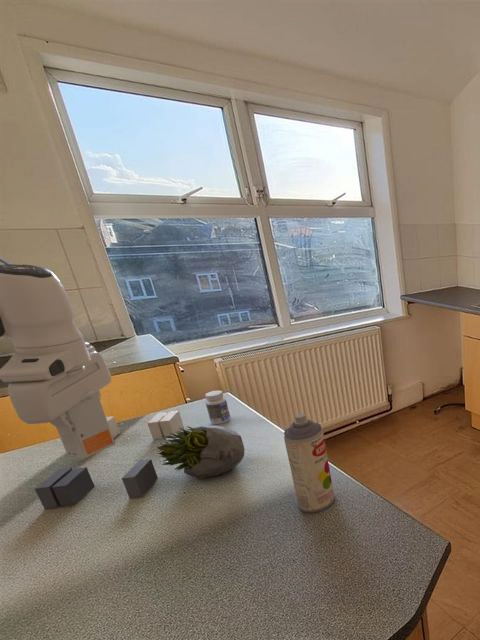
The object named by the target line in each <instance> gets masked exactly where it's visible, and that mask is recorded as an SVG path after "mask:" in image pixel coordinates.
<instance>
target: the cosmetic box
mask: <svg viewBox="0 0 480 640" xmlns="http://www.w3.org/2000/svg"><path fill="white" fill-rule="evenodd" d="M65 413H66V416H67V417H66V418H65V419H66V420H67V421H68V422H69V423H71V422H73V423H74V427H75V428H76V430H75V431H73V432H72V433H71V434H67V435H61V434H60V433H59V431H58V429H57V427H55V428H56V431H57V433H58V435H59V438H60V440H61V443H62V445H63V447H64V451H65V454H66V455H67V457H70V458H79V459H87V458H89V457H91V456H94V455H95V454H97V453H99V452H102V451H103V450H106V449H108V448H110V447H112V446H114V445H115V444H116V442H115V440H114V439H115V438H114V439H113V436H112V434H111V431H110V428H109V425H108V422H107V419H106V417H107V416H106V413H105V411H104V408H103V405H102V403H101V398H100V399H99V396H98V393H97V392H95V391H90V392H88V393H87V394H85V395H84V396H82V397H81V400H80V403H79V404H77V405H76V406H74V407H73V408H71V409H69V410H68V411H66V412H65Z"/></svg>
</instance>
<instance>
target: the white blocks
mask: <svg viewBox="0 0 480 640" xmlns="http://www.w3.org/2000/svg"><path fill="white" fill-rule="evenodd" d="M106 419H107V422H108V425H109V428H110V431H111V434H112V436H113V439H115V438H117V436H119V435H120V434H121V432H120V429H119V426H118V424H117V421H116V418H115V416H111V415H110V416H106ZM146 423H147V424H146V425H147V427H148V430H149V432H150V436H151V438H152V440H153V441H154V440H155V441H156V440H163V439H168V438H167V437H166V436H168V435H170V436H171V435H173V434H177V433H176V432H178V431H182V430H181V429H180V428H182V429H184V428H185V425H184V423H183V419H182V415H181V413H180V410H171V411H163V412H162V411H161V412H157V413H156V414H155V415H154V416H153V417H152V418H151V419H149V421H147V422H146ZM179 427H180V428H179ZM171 433H173V434H171ZM177 435H178V434H177Z"/></svg>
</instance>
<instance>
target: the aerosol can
mask: <svg viewBox="0 0 480 640" xmlns="http://www.w3.org/2000/svg"><path fill="white" fill-rule="evenodd" d="M294 419H295V420H294V421H293V422H292V423H291V424H290V425H289V427H286V429H285V430H284V432H283V435H284V436H283V440H284V445H285V449H286V454H287V459H288V462H289V468H290V472H291V478H292V482H293V486H294V487H293V488H294V492H295V496H296V500H297V505H298V509H299V510H300V511H301V512H302V513H305V514H316V513H321V512H322V511H325V510H327V509H329V508H330V507H332V505H333V504H334V502H335V499H336V498H335V493H334V488H333V487H334V486H333V482H332V481H333V480H332V474H331V469H330V464H329V457H328V453H327V452H328V451H327V446H326V440H325V435H324V430H323V429H322V425H321V424H320V423H318V422H315V421H313V420H311V419H309V418H307V417H306V414H305V413H298V414H296V415H295V416H294Z"/></svg>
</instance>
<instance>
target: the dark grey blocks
mask: <svg viewBox="0 0 480 640" xmlns="http://www.w3.org/2000/svg"><path fill="white" fill-rule="evenodd" d="M158 477H159V476H158V474H157V471H156V469H155V465H154V462H153V461H152V458H146V459H139V460H138V461H137V462H136V463H135V464H134V465H133V466H132V467H131V468H130V469H129V470H128V471H127V472H126V473H125V474H124V475H123V477H122V478H121V480H122V483H123V485H124V488H125V490H126V493H127V496H128V498H129V499H136V498H137V499H138V498H143V496H144V495H145V494H146V493H147V492H148V491H149V490H150V488H151V487H152V486H153V485H154V483H155V482H156V481H157V480H158V479H159V478H158ZM94 487H95V483H94V481H93V479H92V476H91V474H90V472H89V469H88V467H87V466H84V467H75V468H72V467H64V468H58V469H57V470H55V471H54V472H53V473H52V474H51V475H50V476H48V477H47V478H46V479H44V480H43V481H42V482H41V483H40V484H38V485H37V486H36V487H35V488H34V490H35V491H34V492H35V493H36V494H37V495H36V496H37V497H38V498H39V501H40V502H41V505H42V507H43V509H44V510H52V509H58V508H59V507H61V508H64V507H71V506H75V505H76V504H78V502H80V500H81V499H83V498H84V497H85V496H86V494H88V493H89V492H90V491H91V490H92V489H93V488H94Z"/></svg>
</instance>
